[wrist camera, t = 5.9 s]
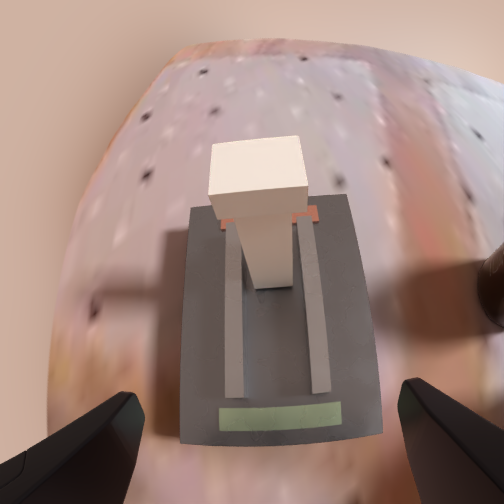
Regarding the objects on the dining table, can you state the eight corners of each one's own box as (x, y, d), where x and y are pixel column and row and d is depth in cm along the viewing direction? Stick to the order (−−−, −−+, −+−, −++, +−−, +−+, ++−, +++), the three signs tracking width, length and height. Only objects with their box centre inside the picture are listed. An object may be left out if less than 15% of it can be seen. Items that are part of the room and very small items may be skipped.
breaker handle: (302, 288, 19) (308, 185, 11) (245, 292, 20) (208, 195, 11) (298, 248, 21) (298, 135, 12) (244, 253, 21) (212, 144, 12)
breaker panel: (370, 429, 17) (392, 435, 13) (194, 439, 18) (169, 446, 14) (341, 216, 25) (349, 178, 21) (200, 228, 26) (184, 193, 22)
